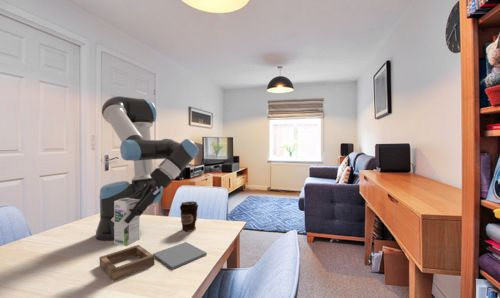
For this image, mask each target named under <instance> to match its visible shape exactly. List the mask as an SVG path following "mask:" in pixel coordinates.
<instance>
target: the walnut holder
mask: <svg viewBox="0 0 500 298" xmlns="http://www.w3.org/2000/svg"><path fill="white" fill-rule="evenodd" d="M132 257H138V259H136V260H134V261H130V262H128V263H125V264H122V265H119V266H116V265H115V263H118V262H120V261H123V260H126V259H129V258H132ZM154 265H155V257H154V255H153V253H152V252H150V251H148V250H147V249H145V248H144V247H143V246H141V245H140V244H137V245H133V246H130V247H128V248H127V247H126V248H124V249H121V250H117V251H114V252H111V253H107V254H105V255H101V256H99V266H100V268H101V269H102V271H104V273H105V274H106V275H107V276H108V277H109V279H111V280H112V281H116V280H118V279H121V278H125V277H126V276H128V275H129V276H130V275H131V274H134V273H136V272H139V271H141V270H145V269H146V268H149V267H152V266H154Z"/></svg>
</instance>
